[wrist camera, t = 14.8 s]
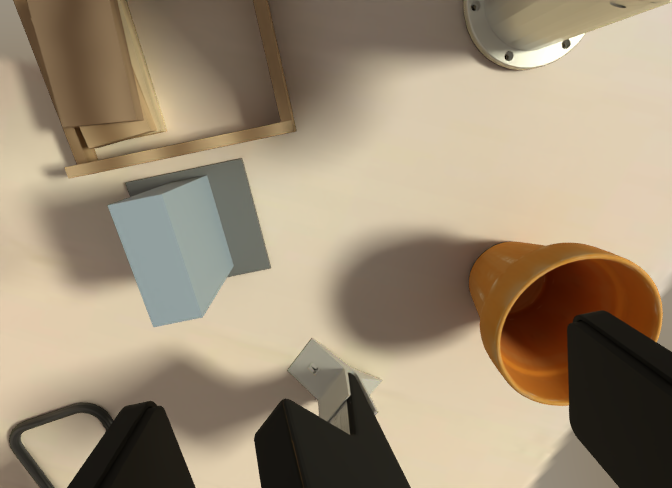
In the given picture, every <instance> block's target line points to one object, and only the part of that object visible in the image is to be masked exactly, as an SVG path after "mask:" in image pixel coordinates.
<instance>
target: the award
mask: <svg viewBox="0 0 672 488" xmlns="http://www.w3.org/2000/svg"><path fill="white" fill-rule="evenodd" d="M288 371H289V372H290V373H291V374H292V375H293V376H294V377H295V378H296V379H297V380H298V381H299V382H300V383H301V384H302V385H303V386H304V387H305V388H306V389H307V390H308V391H309V392H310V393H311V394H312V395H313V396H314V397H315V398H316V399H317V400H318V405H319V416H317V415H315V414H313V413H312V412H310V411H308V410H307V409H305V408H303V407H301V406H300V405H298V404H296V403H295V402H293V401H291V400H289V399H283V400H282V401H281V402H280V403H279V404H278V405H277V407H276V408H275V409H274V411H273V412H272V413H271V414H270V416H269V417H268V418H267V420H266V421H265V422H264V423H263V425H262V426H261V427H260V429H259V430H258V431H257V432H256V434H255V437H254V442H255V449H256V455H257V462H258V468H259V475H260V482H261V488H411V487H410V485H409V483H408V481H407V479H406V477H405V475H404V473H403V471H402V469H401V467H400V465H399V463H398V461H397V459H396V457H395V455H394V453H393V451H392V449H391V447H390V445H389V443H388V441H387V439H386V437H385V435H384V433H383V431H382V429H381V427H380V425H379V423H378V421H377V419H376V417H375V415H376V414H377V413H378V411H377V409H376V407H375V405H374V403H373V401H372V399H371V397H370V394H371V393H372V392H373V391H374V390H375V388H376V387H377V386H378V385H379V384H380V382H381V381H382V380H381V379H379V378H377V377H374V376H372V375H369V374H367V373H364V372H361V371H359V370H356V369H354V368H352V367H350V366H349V365H347V364H346V363H345V362H343V361H342V360H341V359H340V358H338V357H337V356H336V355H334V354H333V353H332V352H330V351H329V350H328V349H327V348H325V347H324V346H323V345H321V344H320V343H319V342H318V341H316V340H314V339H313V338H312V339H311V340H310V341H309V343H308V344H307V345H306V347H305V348H304V349H303V350H302V352H301V353H300V354H299V356H298V357H297V358H296V360H295V361H294V362H293V364H292V365H291V366H290V367H289V369H288Z"/></svg>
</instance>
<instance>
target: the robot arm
mask: <svg viewBox="0 0 672 488" xmlns="http://www.w3.org/2000/svg"><path fill="white" fill-rule="evenodd" d="M671 2H672V0H463V4H464V17H465V21H466V26H467V29H468V31H469V34H470V36H471V38H472V40H473V42H474V43H475V45H476V46H477V48H478V49H479V51H480V52H482V53H483V54H484V55H485V56H486V57H487V58H488V59H489V60H491V61H492V62H494V63H496V64H497V65H500V66H503V67H506V68H508V69H516V70H527V69H534V68H538V67H542V66H545V65H547V64H550V63H552V62H555V61H557V60H558V59H560V58H561V57H563V56H564V55H566V54H567V53H568V52H569V51H570V50H572V49H573V48H574V47H575V46H576V45H577V44H578V43H579V41H580V40H581V39H582V38H583V36H584V35H585V34H586V33H587V32H590V31H593V30H595V29H598V28H601V27H604V26H607V25H609V24H612V23H615V22H618V21H620V20H623V19H626V18H629V17H632V16H634V15H637V14H640V13H643V12H646V11H648V10H651V9H654V8H657V7H660V6H662V5H665V4H668V3H671ZM471 6H473V7H474V11H473V10H472V9H471ZM562 45H563V46H562ZM505 55H506V56H507V59H506V60H505V58H504V56H505ZM567 349H568V385H569V419H570V424H571V427H572V430H573V432H574V433H575V435H576V436H577V438H578V439H579V440H580V441H581V443H582V444H583V445H584V446H585V447H586V448H587V450H588V451H589V452H590V453H591V455H593V457H594V458H595V459H596V460H597V461H598V463H599V464H600V465H601V466H602V468H603V469H604V470H605V471H606V472H607V473H608V475H609V476H610V477H611V478H612V479H613V480H614V482H615V483H616V484H617V485H618V486H619V488H672V352H671V351H669V350H668V349H666V348H665V347H663V346H661V345H660V344H658V343H657V342H655V341H653V340H652V339H650V338H649V337H647V336H645V335H644V334H642V333H641V332H639V331H637V330H636V329H634V328H633V327H631V326H630V325H628V324H626V323H625V322H623V321H622V320H620V319H618V318H617V317H615V316H614V315H612V314H610V313H609V312H607V311H604V310H600V311H595V312H590V313H585V314H580V315H576V316H575V317H574V319H573V323H570V324H568V327H567ZM67 488H195V485H194V483H193V480H192V478H191V475H190V473H189V470H188V467H187V465H186V462H185V460H184V457H183V455H182V452H181V450H180V447H179V445H178V442H177V440H176V437H175V435H174V432H173V430H172V427H171V424H170V422H169V419H168V417H167V414H166V412H165V410H164V408H163V407H162V406H157V405H156V404H155V403H154V402H152V401H148V402H143V403H138V404H133V405H128V406H125V407H124V408H123V409H122V410H121V411H120V413H119V414H118V415H117V417H116V418H115V420H114V421H113V423H112V424H111V425H110V427H109V428H108V430H107V431H106V433H105V434H104V435H103V437H102V438H101V440H100V441H99V443H98V444H97V446H96V447H95V448H94V450H93V451H92V453H91V454H90V456H89V457H88V458H87V460H86V461H85V463H84V464H83V466H82V467H81V469H80V470H79V471H78V473H77V474H76V476H75V477H74V479H73V480H72V481H71V483H70V484H69V486H68V487H67Z"/></svg>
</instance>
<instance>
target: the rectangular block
mask: <svg viewBox="0 0 672 488" xmlns="http://www.w3.org/2000/svg"><path fill="white" fill-rule="evenodd" d="M108 208H109V211H110V213H111V216H112V219H113V221H114V224H115V227H116V229H117V232H118V235H119V237H120V240H121V243H122V245H123V248H124V251H125V253H126V256H127V258H128V261H129V264H130V266H131V269H132V272H133V274H134V277H135V280H136V282H137V285H138V288H139V290H140V293H141V296H142V298H143V301H144V304H145V306H146V309H147V312H148V314H149V317H150V319H151V322H152V325H153V327H157V326H162V325H167V324H172V323H177V322H182V321H187V320H192V319H197V318H202V317H203V316H204V314H205V313H206V311H207V309H208V308H209V306H210V304H211V303H212V301H213V299H214V298H215V296H216V295H217V293H218V291H219V290H220V288H221V286H222V285H223V283H224V281H225V280H226V278H227V276H228V275H229V273H230V271H231V270H232V268H233V266H234V265H233V262H232V258H231V255H230V252H229V248H228V245H227V241H226V238H225V234H224V231H223V228H222V224H221V221H220V217H219V214H218V211H217V207H216V204H215V200H214V197H213V194H212V190H211V187H210V183H209V180H208V177H207V175H205V176H201V177H196V178H191V179H186V180H181V181H176V182H172V183H168V184H165V185H162V186H159V187H157V188H154V189H151V190H148V191H146V192H143V193H140V194H137V195H135V196H132V197H129V198H126V199H124V200H121V201H118V202H115V203H113V204H110V205H108Z"/></svg>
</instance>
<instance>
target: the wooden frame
mask: <svg viewBox="0 0 672 488" xmlns="http://www.w3.org/2000/svg"><path fill="white" fill-rule="evenodd" d="M13 1H14V4H15V6H16V9H17V11H18V14H19V16H20V19H21V21H22V24H23V27H24V29H25V32H26V34H27V37H28V40H29V42H30V45H31V47H32V50H33V53H34V55H35V58H36V60H37V63H38V65H39V68H40V71H41V73H42V76H43V78H44V81H45V83H46V86H47V89H48V91H49V94H50V96H51V99H52V101H53V104H54V107H55V109H56V112H57V114H58V117H59V119H60V116H59V113H58V109H57V106H56V102H55V99H54V95H53V92H52V88H51V85H50V81H49V77H48V74H47V70H46V67H45V63H44V60H43V56H42V53H41V49H40V46H39V42H38V39H37V35H36V32H35V28H34V25H33V23H32V20H31V18H32V17H31V14H30V10H29V7H28V3H27V0H13ZM253 3H254V7H255V12H256V16H257V20H258V25H259V29H260V33H261V38H262V42H263V46H264V51H265V55H266V59H267V64H268V68H269V73H270V77H271V81H272V86H273V90H274V94H275V99H276V103H277V107H278V112H279V116H280V120H281V122H280V123H276V124H271V125H266V126H261V127H256V128H252V129H247V130H242V131H237V132H232V133H228V134H223V135H218V136H213V137H209V138H204V139H199V140H194V141H189V142H185V143H180V144H175V145H170V146H165V147H161V148H156V149H151V150H146V151H141V152H137V153H132V154H127V155H122V156H118V157H113V158H108V159H103V160H98V158H97V155H96V153H95V150H94V148H91V149H89V147H88V145H87V143H86V141H85V138H84V136H83V134H82V132H81V130H80V127H63V130H64V132H65V135H66V138H67V140H68V143H69V145H70V148H71V150H72V153H73V156H74V158H75V161H76V163H77V165H74V166H70V167H65V171H66V173H67V176H68V178H74V177H79V176H84V175H89V174H94V173H99V172H103V171H108V170H113V169H118V168H123V167H127V166H132V165H137V164H142V163H147V162H151V161H156V160H161V159H166V158H171V157H175V156H180V155H185V154H190V153H195V152H199V151H204V150H209V149H214V148H219V147H223V146H228V145H233V144H238V143H243V142H247V141H252V140H257V139H262V138H267V137H271V136H276V135H281V134H286V133H291V132H295V131H296V126H295V122H294V117H293V113H292V108H291V104H290V99H289V94H288V90H287V85H286V81H285V76H284V72H283V67H282V63H281V58H280V54H279V49H278V44H277V40H276V35H275V31H274V26H273V22H272V17H271V13H270V8H269V4H268V0H253ZM60 122H61V120H60ZM61 125H62V123H61Z"/></svg>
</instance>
